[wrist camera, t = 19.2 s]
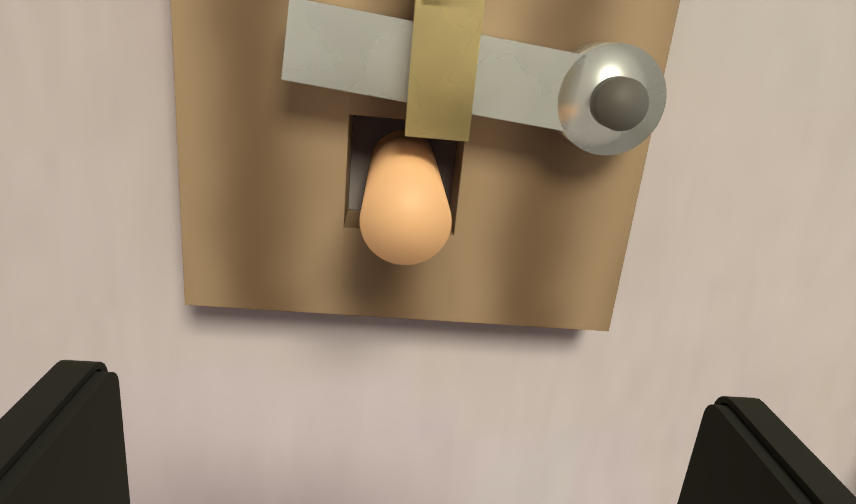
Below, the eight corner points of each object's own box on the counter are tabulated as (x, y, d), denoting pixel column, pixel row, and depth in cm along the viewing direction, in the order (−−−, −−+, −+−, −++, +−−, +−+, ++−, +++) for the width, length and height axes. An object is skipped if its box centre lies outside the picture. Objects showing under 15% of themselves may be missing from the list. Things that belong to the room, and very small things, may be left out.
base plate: (658, -30, 28) (736, -46, 22) (590, 305, 34) (636, 371, 27) (190, -81, 27) (124, -115, 20) (203, 280, 32) (154, 344, 26)
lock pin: (437, 132, 30) (456, 181, 21) (431, 195, 31) (446, 267, 22) (373, 127, 30) (362, 173, 21) (369, 190, 31) (357, 261, 22)
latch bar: (656, 52, 26) (680, 54, 24) (627, 152, 28) (647, 163, 26) (301, -20, 25) (291, -24, 22) (289, 91, 26) (279, 97, 24)
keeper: (475, -40, 25) (490, -53, 21) (457, 123, 27) (468, 141, 23) (416, -46, 25) (420, -61, 21) (403, 119, 27) (404, 136, 23)
